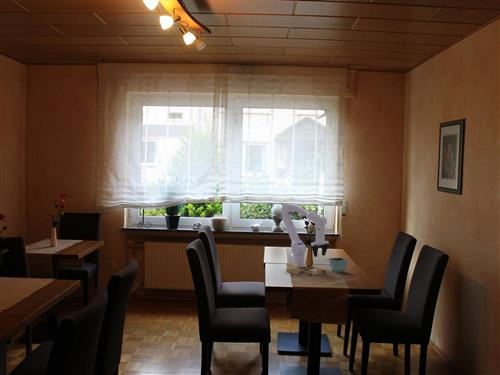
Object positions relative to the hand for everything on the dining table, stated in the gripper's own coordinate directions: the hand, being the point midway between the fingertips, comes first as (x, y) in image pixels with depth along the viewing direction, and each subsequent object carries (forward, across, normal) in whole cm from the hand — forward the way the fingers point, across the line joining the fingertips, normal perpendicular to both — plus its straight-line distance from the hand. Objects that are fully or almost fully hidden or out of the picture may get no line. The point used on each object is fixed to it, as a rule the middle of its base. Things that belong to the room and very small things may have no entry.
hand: (319, 256), depth 312 cm
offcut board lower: (+9, -11, -6) cm, 16 cm away
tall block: (+9, -22, +2) cm, 24 cm away
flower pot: (+10, +7, -10) cm, 16 cm away
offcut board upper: (+8, -10, -7) cm, 15 cm away
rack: (+10, -11, -3) cm, 15 cm away
